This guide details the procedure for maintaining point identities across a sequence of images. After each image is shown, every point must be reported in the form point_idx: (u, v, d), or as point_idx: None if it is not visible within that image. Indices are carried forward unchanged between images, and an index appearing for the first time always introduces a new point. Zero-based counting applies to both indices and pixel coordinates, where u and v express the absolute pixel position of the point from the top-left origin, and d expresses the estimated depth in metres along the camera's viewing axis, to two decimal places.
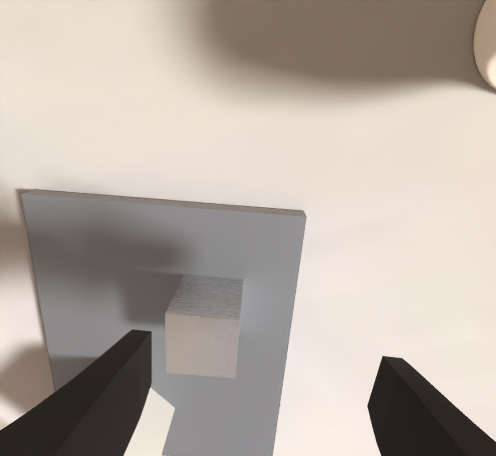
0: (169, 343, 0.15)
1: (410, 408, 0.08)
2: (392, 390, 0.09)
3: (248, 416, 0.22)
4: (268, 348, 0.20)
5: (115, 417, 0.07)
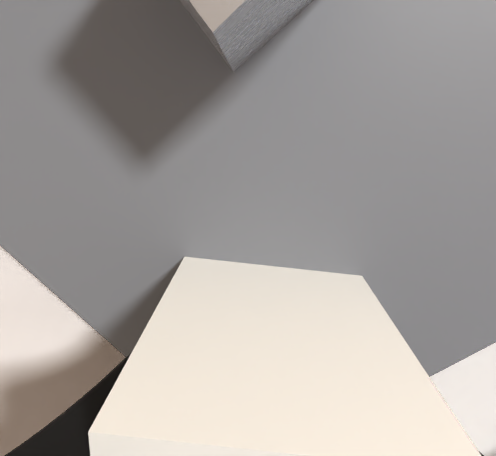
0: None
1: None
2: None
3: None
4: None
5: None
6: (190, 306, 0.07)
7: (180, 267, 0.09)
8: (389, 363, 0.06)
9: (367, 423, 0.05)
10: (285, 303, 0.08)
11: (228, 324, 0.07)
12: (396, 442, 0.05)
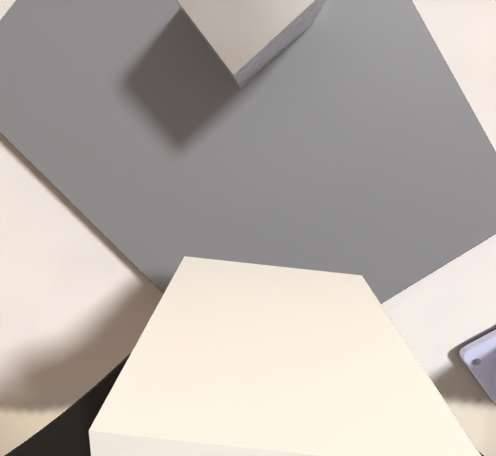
0: (194, 10, 0.08)
1: None
2: None
3: (435, 159, 0.13)
4: (376, 16, 0.12)
5: None
6: (190, 305, 0.08)
7: (180, 267, 0.09)
8: (388, 362, 0.06)
9: (366, 422, 0.05)
10: (285, 302, 0.08)
11: (227, 323, 0.07)
12: (395, 441, 0.05)
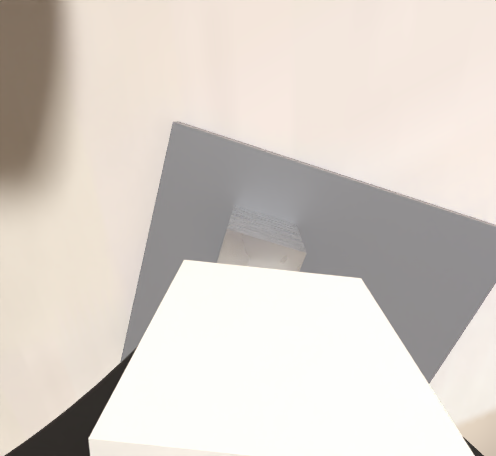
0: None
1: None
2: None
3: (428, 245, 0.17)
4: (332, 198, 0.17)
5: None
6: (190, 310, 0.08)
7: (180, 270, 0.09)
8: (386, 367, 0.06)
9: (365, 429, 0.05)
10: (284, 307, 0.08)
11: (227, 328, 0.07)
12: (393, 447, 0.05)
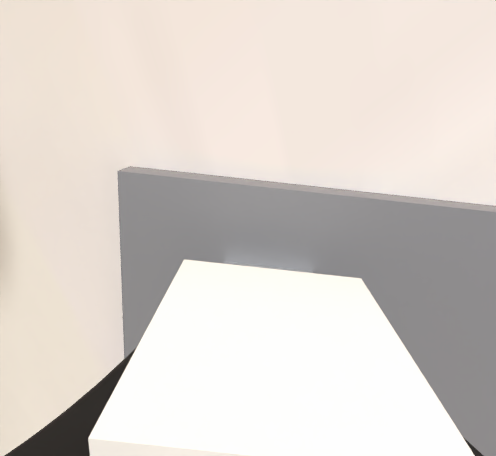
0: None
1: None
2: None
3: None
4: (355, 229, 0.12)
5: None
6: (189, 310, 0.08)
7: (180, 270, 0.09)
8: (386, 367, 0.06)
9: (365, 430, 0.05)
10: (284, 306, 0.08)
11: (226, 328, 0.07)
12: (393, 448, 0.05)
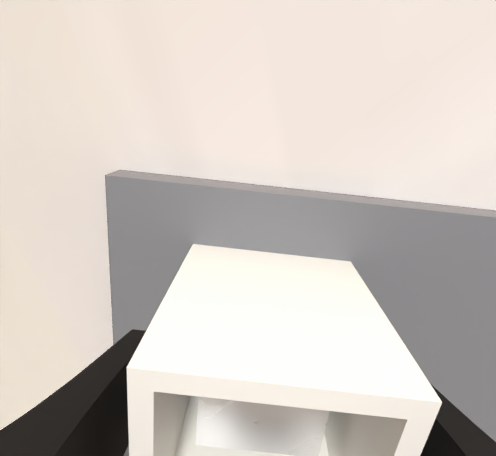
0: (254, 446, 0.09)
1: None
2: None
3: None
4: (362, 237, 0.11)
5: (115, 417, 0.07)
6: (200, 282, 0.09)
7: (190, 252, 0.11)
8: (367, 327, 0.08)
9: (345, 368, 0.06)
10: (282, 282, 0.09)
11: (232, 296, 0.08)
12: (367, 379, 0.06)
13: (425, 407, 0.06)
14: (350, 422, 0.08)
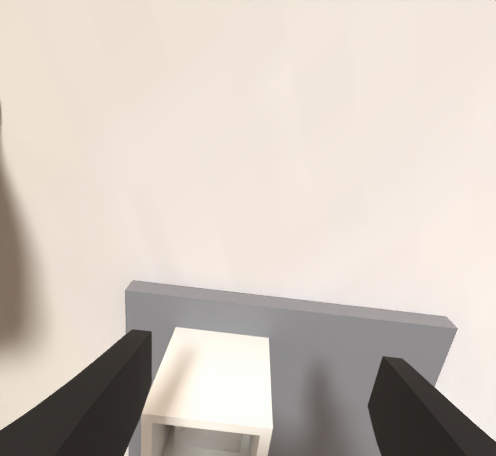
0: (205, 446, 0.17)
1: (410, 408, 0.08)
2: (392, 390, 0.09)
3: (370, 348, 0.19)
4: (274, 325, 0.19)
5: (115, 417, 0.07)
6: (177, 360, 0.17)
7: (173, 335, 0.18)
8: (257, 388, 0.15)
9: (237, 412, 0.14)
10: (222, 357, 0.17)
11: (193, 370, 0.16)
12: (244, 418, 0.14)
13: (266, 430, 0.14)
14: None
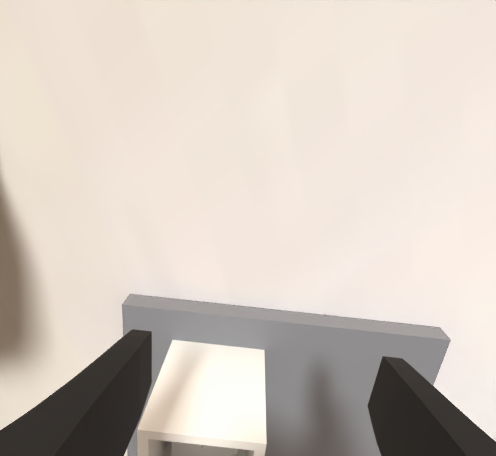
0: None
1: (410, 408, 0.08)
2: (392, 390, 0.09)
3: (364, 359, 0.19)
4: (269, 337, 0.19)
5: (115, 417, 0.07)
6: (173, 374, 0.17)
7: (170, 348, 0.19)
8: (252, 402, 0.16)
9: (231, 427, 0.14)
10: (217, 371, 0.17)
11: (189, 384, 0.16)
12: (238, 433, 0.14)
13: (260, 445, 0.14)
14: None
